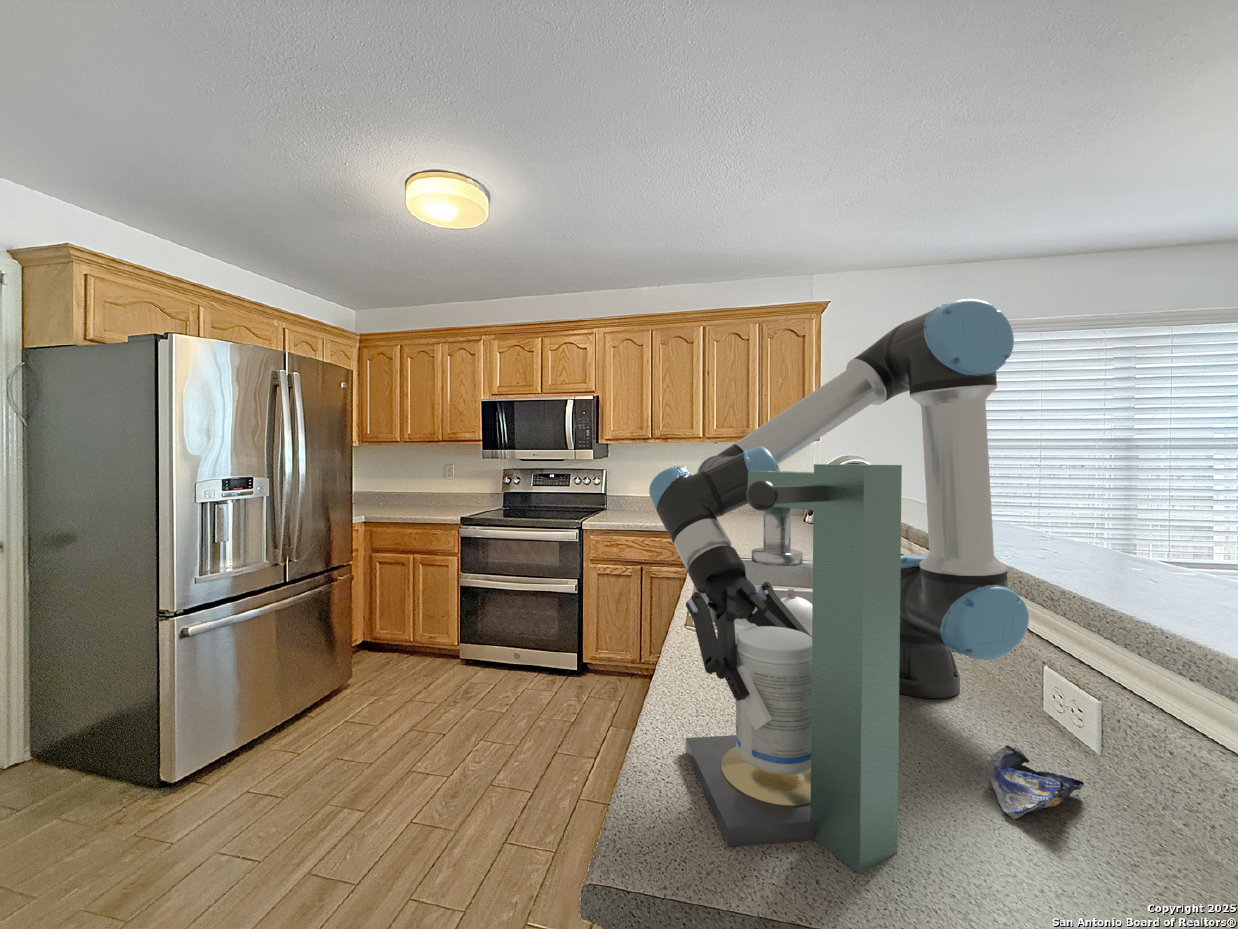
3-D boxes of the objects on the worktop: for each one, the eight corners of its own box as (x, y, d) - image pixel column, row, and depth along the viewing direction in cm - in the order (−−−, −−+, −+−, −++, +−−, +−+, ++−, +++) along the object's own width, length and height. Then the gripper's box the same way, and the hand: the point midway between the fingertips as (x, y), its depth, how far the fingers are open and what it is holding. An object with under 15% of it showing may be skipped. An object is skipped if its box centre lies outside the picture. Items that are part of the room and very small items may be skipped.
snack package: (943, 777, 69) (1035, 839, 57) (949, 725, 69) (1042, 776, 57) (1019, 781, 72) (1122, 841, 60) (1025, 731, 72) (1128, 781, 60)
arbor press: (809, 745, 76) (812, 463, 75) (921, 871, 53) (926, 465, 52) (685, 752, 74) (687, 462, 73) (744, 887, 50) (748, 464, 50)
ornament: (760, 642, 118) (761, 588, 118) (787, 633, 124) (787, 581, 124) (802, 656, 110) (802, 598, 110) (828, 645, 117) (828, 590, 116)
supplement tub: (833, 762, 64) (834, 641, 64) (780, 789, 59) (782, 657, 59) (769, 728, 72) (771, 620, 72) (718, 749, 67) (719, 632, 67)
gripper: (754, 566, 84) (838, 707, 71) (634, 581, 73) (707, 751, 60) (779, 537, 80) (875, 682, 66) (656, 549, 69) (740, 725, 55)
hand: (795, 715), depth 63 cm, fingers closed on supplement tub, 9 cm apart
